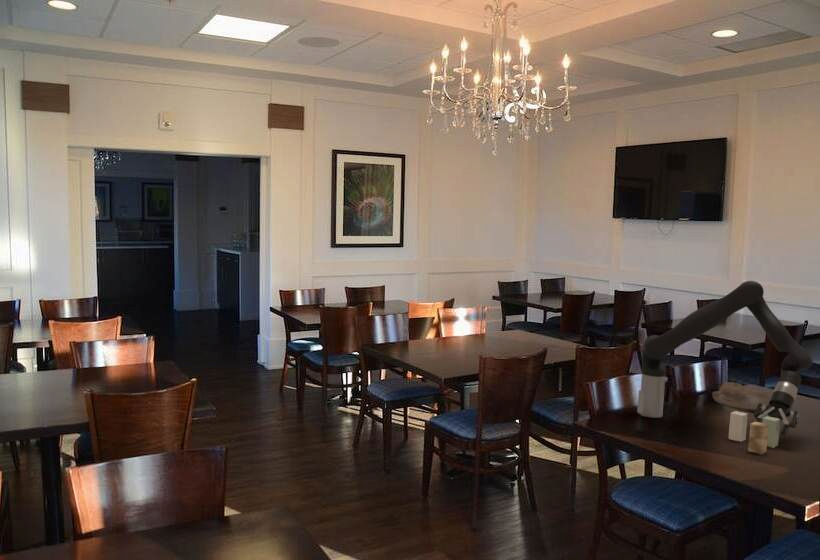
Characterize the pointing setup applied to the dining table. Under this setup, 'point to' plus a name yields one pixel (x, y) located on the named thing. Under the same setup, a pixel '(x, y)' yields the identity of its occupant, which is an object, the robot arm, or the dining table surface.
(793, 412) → the robot arm
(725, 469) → the dining table surface
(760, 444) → the oak block
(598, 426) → the dining table surface
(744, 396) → the flat cap
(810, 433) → the dining table surface
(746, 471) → the dining table surface
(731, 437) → the cream block
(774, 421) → the sage block
